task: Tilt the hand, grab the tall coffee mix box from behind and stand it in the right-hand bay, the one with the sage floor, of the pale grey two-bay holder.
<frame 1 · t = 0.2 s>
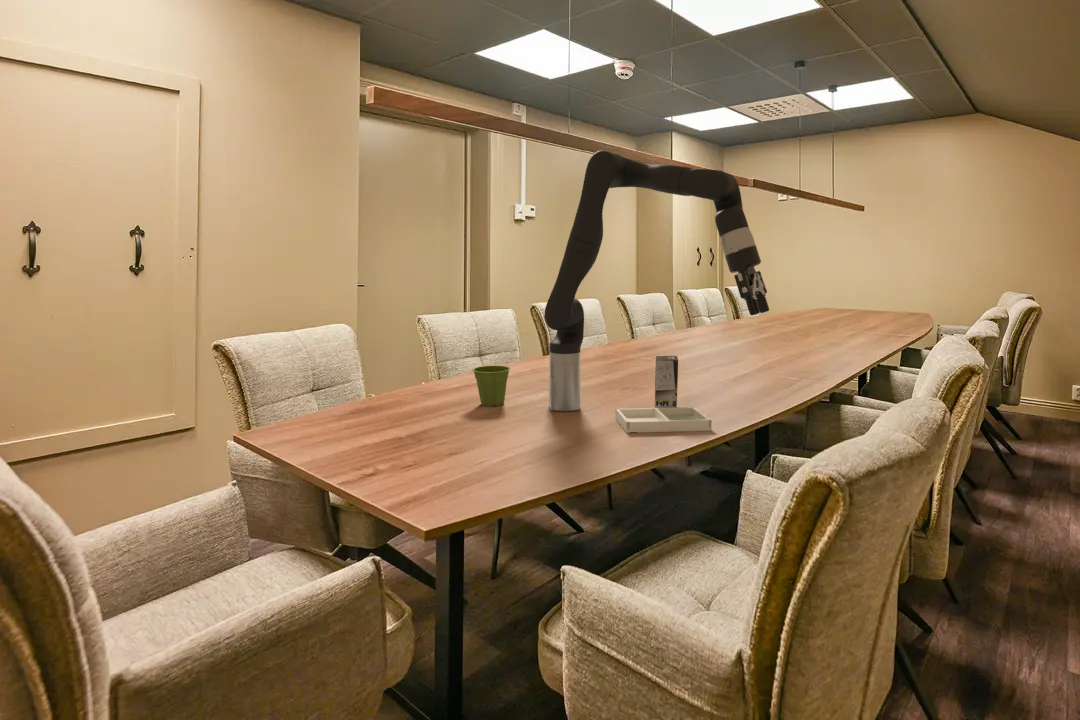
hand: (760, 313, 149), 31 cm above the table, tool tilted 20°, fingers open, 8 cm apart
bay holder: (661, 424, 167), on the table
coffee box: (665, 412, 181), on the table
plant pot: (492, 404, 192), on the table
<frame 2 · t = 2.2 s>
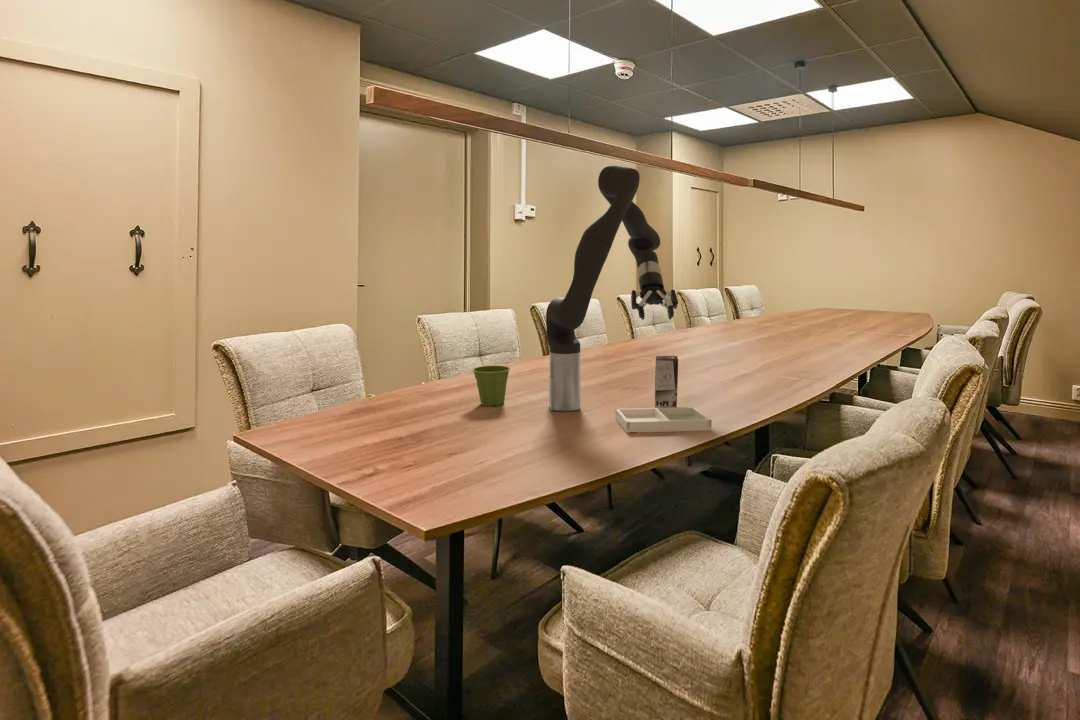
hand: (657, 317, 190), 26 cm above the table, tool tilted 45°, fingers open, 8 cm apart
nothing on the table moved.
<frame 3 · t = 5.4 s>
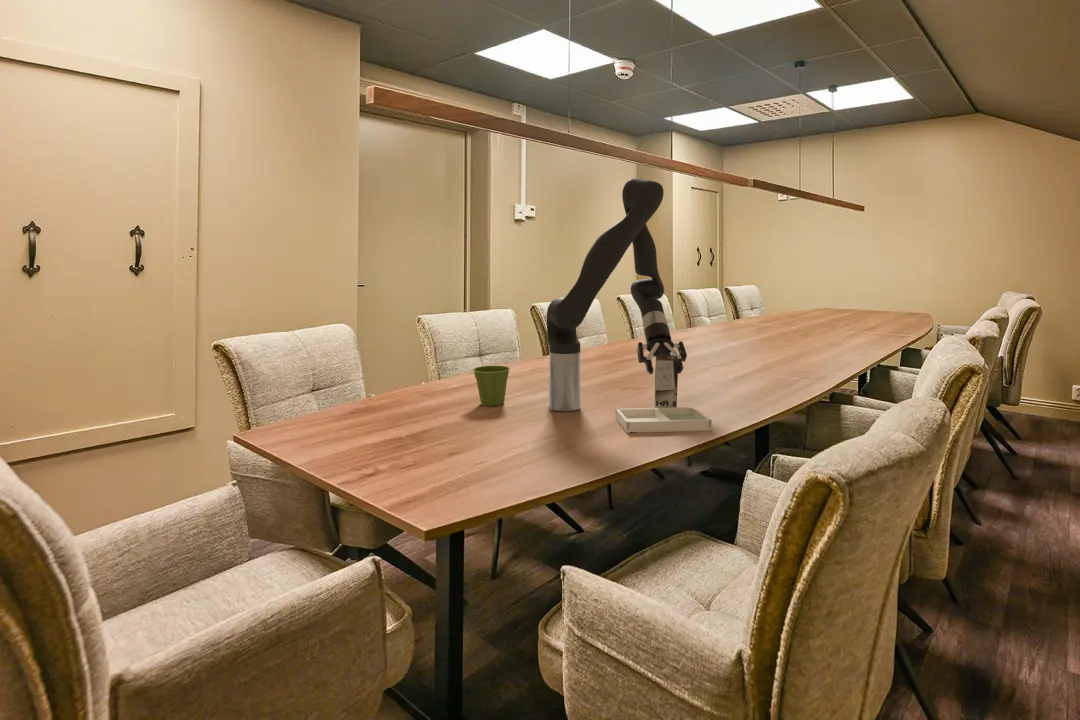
hand: (665, 372, 180), 11 cm above the table, tool tilted 45°, fingers open, 8 cm apart
nothing on the table moved.
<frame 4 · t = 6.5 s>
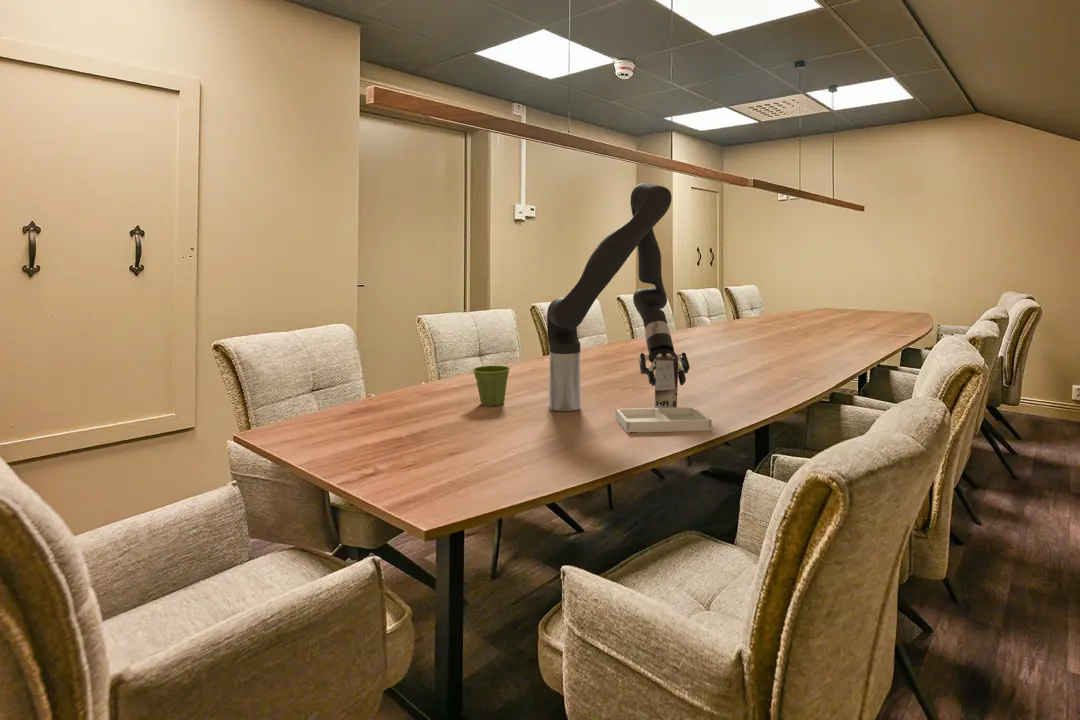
hand: (668, 384, 177), 9 cm above the table, tool tilted 45°, fingers open, 8 cm apart
coffee box: (665, 412, 181), on the table, touching gripper
everything else where it was.
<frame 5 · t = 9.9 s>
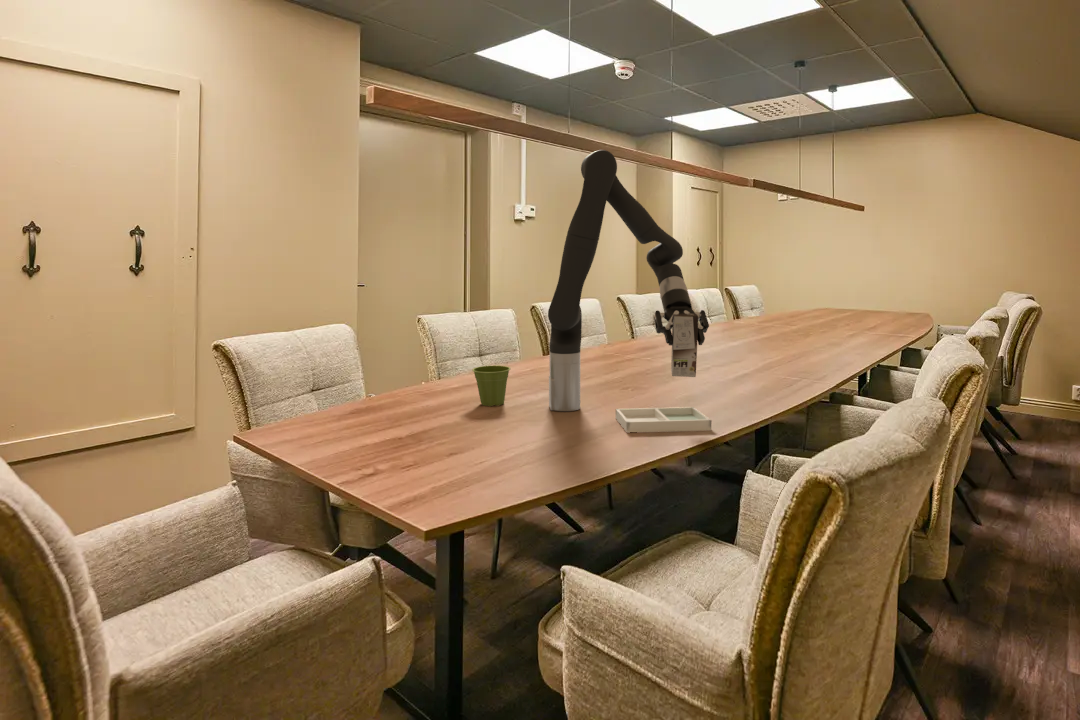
hand: (686, 343, 162), 22 cm above the table, tool tilted 45°, fingers closed on coffee box, 7 cm apart
coffee box: (683, 374, 166), point 14 cm above the table, touching gripper
everything else where it was.
when the fingers open (10 cm above the table, at t = 12.8 s): coffee box stays where it is, resting on bay holder.
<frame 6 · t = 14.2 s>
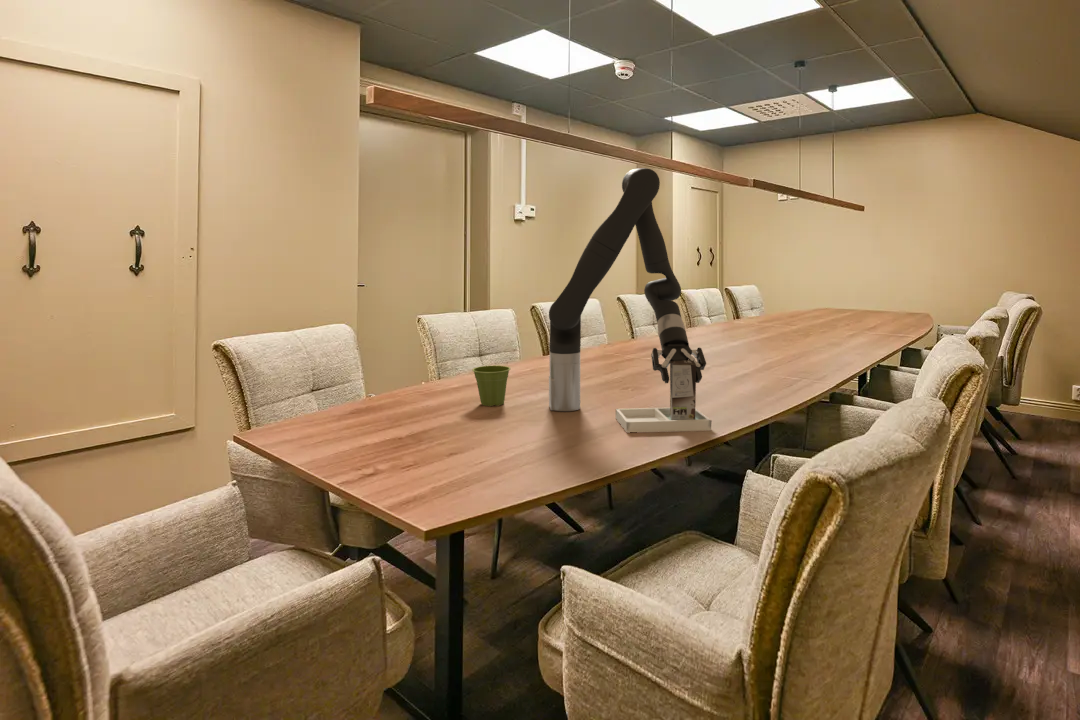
hand: (683, 381, 164), 12 cm above the table, tool tilted 45°, fingers open, 8 cm apart
coffee box: (682, 420, 167), point 1 cm above the table, touching bay holder
everything else where it was.
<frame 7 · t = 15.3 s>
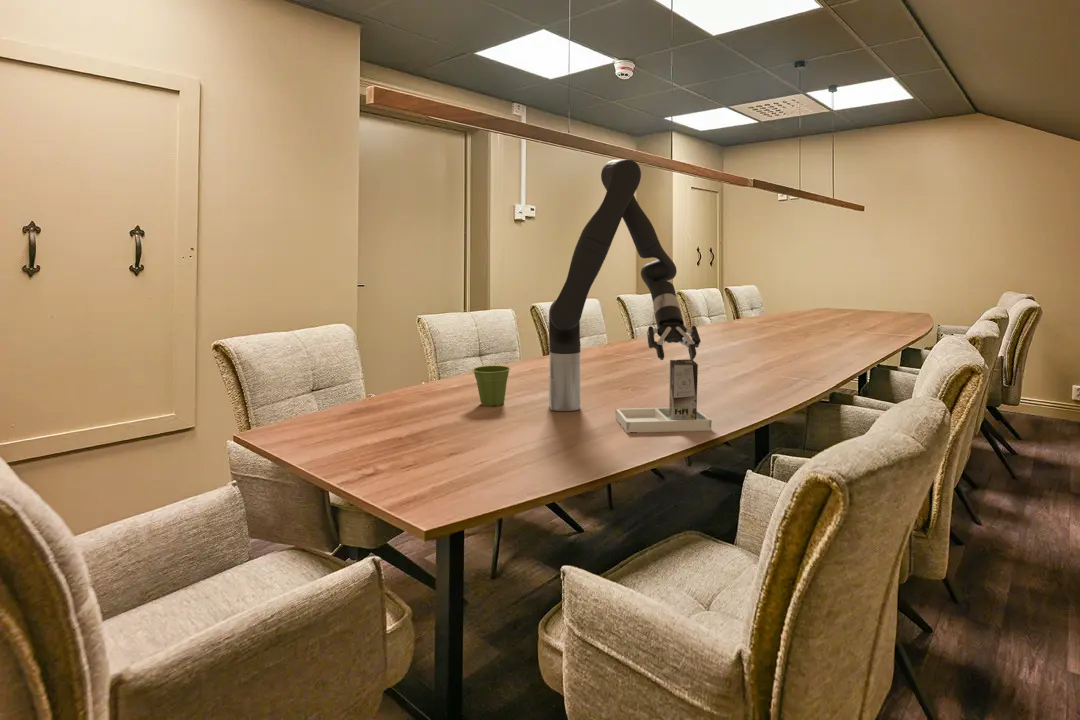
hand: (677, 358, 169), 17 cm above the table, tool tilted 45°, fingers open, 8 cm apart
nothing on the table moved.
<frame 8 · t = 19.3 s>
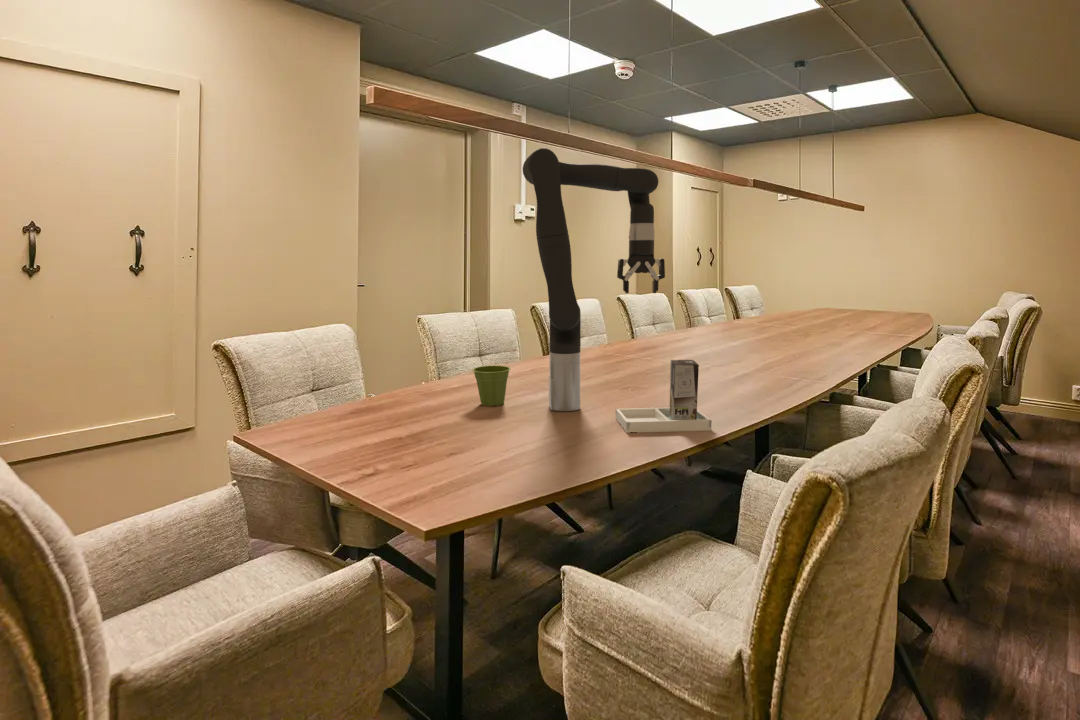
hand: (640, 293, 188), 34 cm above the table, tool pointing down, fingers open, 8 cm apart
nothing on the table moved.
at the end: coffee box 0.6 cm from the target spot on the bay holder, point 0.7 cm above the bay holder's base; coffee box tilted 0°; the gripper is holding nothing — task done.
